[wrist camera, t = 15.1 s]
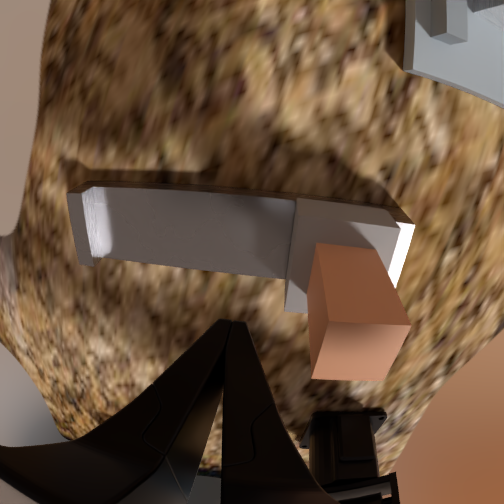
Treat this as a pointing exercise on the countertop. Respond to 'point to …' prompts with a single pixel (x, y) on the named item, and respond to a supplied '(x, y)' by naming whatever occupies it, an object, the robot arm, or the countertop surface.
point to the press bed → (454, 47)
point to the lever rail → (198, 226)
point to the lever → (346, 288)
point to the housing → (490, 12)
